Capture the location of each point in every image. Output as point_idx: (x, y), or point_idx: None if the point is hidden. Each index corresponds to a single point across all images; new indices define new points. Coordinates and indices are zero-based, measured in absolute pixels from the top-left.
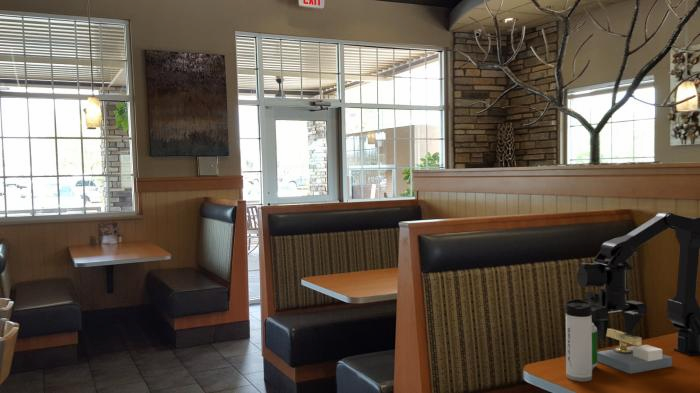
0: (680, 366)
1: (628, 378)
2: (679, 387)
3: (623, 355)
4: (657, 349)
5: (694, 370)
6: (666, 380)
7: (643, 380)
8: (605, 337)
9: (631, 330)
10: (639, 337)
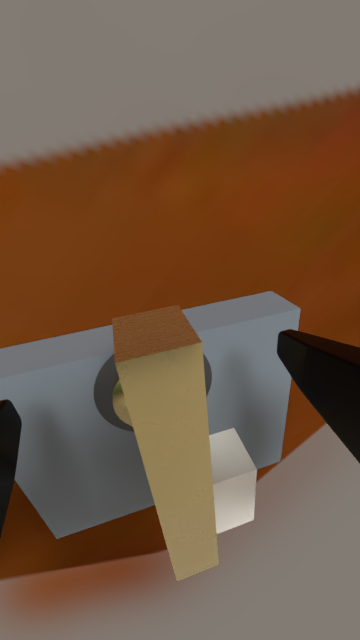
0: None
1: (30, 528)
2: (141, 555)
3: (107, 447)
4: (234, 522)
5: (284, 458)
6: (145, 525)
7: (74, 534)
8: (9, 473)
9: (324, 419)
10: (212, 562)
